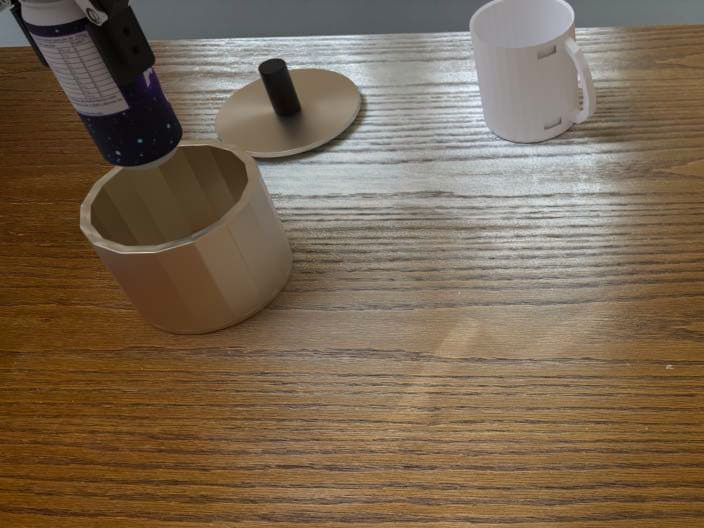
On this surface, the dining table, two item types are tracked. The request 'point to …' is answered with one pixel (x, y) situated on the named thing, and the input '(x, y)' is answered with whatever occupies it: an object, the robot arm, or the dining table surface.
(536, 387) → the dining table surface
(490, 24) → the mug
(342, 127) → the lid
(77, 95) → the beverage can
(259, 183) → the pot
